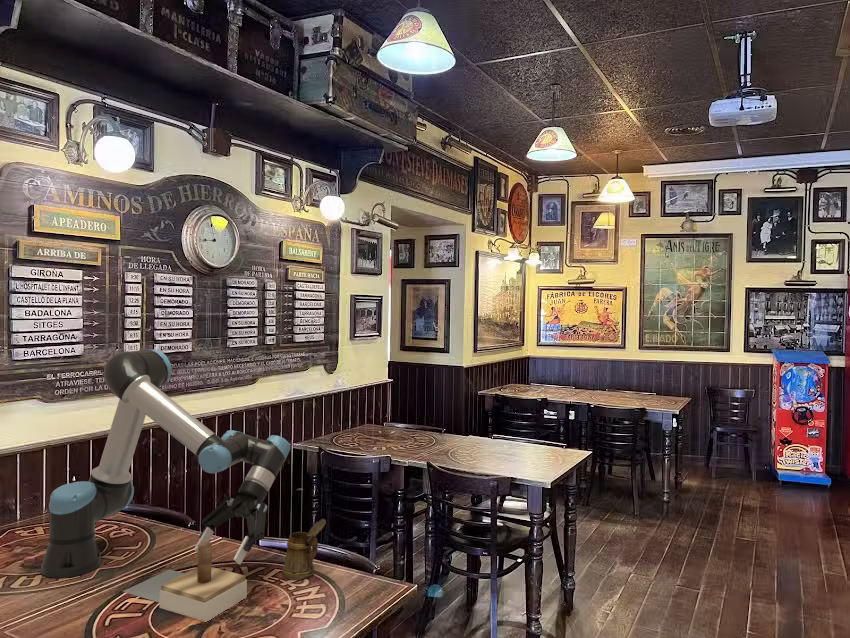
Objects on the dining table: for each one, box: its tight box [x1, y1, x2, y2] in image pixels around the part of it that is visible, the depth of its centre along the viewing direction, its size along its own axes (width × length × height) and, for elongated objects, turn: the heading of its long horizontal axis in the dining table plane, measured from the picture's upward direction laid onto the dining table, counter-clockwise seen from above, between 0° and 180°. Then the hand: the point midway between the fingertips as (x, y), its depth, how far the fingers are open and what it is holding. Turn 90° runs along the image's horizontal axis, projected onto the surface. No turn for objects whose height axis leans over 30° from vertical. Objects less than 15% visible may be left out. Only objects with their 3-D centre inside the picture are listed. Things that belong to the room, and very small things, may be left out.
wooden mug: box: [281, 517, 327, 581], centre depth 181 cm, size 9×14×18 cm, turn 58°
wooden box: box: [159, 579, 248, 623], centre depth 162 cm, size 15×15×5 cm
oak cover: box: [161, 541, 246, 603], centre depth 162 cm, size 14×14×11 cm
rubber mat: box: [122, 569, 186, 604], centre depth 171 cm, size 15×16×1 cm
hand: (216, 557), depth 166 cm, fingers open, 13 cm apart
